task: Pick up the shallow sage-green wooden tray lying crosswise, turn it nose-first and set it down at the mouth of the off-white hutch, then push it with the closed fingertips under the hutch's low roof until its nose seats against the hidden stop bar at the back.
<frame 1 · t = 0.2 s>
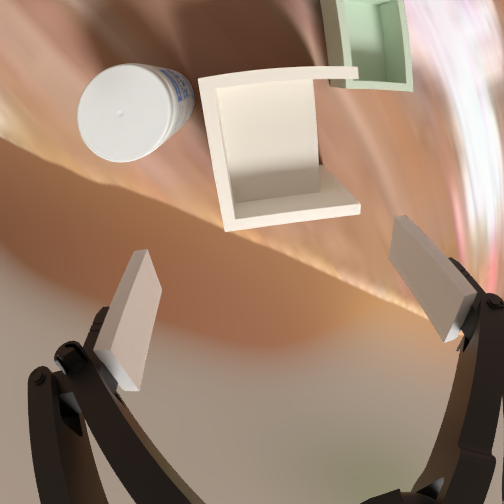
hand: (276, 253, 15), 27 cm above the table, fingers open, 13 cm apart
supplement tub: (159, 101, 34), on the table
hutch: (270, 126, 37), on the table
tray: (358, 40, 30), on the table
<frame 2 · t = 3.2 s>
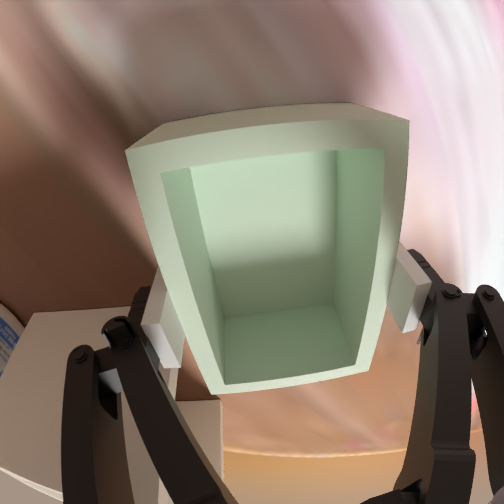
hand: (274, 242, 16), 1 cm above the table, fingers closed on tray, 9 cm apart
supplement tub: (0, 323, 21), on the table
hutch: (131, 368, 24), on the table
tray: (271, 229, 17), on the table, touching gripper
when the fingers open (3 cm above the table, at t = 7.5 s): tray drops 1 cm, on the table.
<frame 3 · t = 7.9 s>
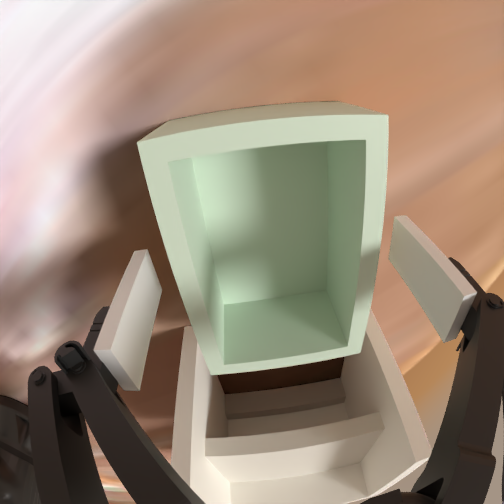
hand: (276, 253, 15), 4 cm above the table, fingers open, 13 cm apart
hutch: (281, 365, 27), on the table
tray: (267, 219, 19), on the table
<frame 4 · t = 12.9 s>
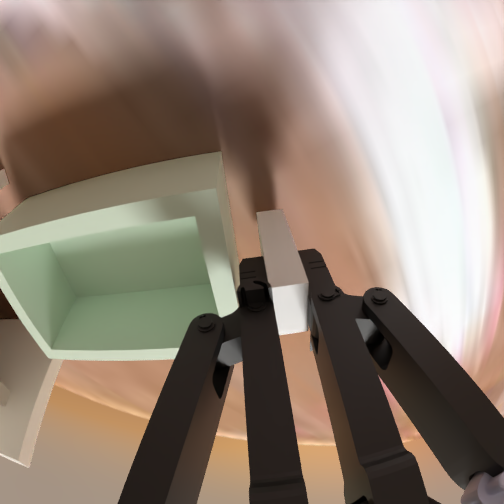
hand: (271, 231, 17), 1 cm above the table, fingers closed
tray: (128, 241, 18), on the table, touching gripper
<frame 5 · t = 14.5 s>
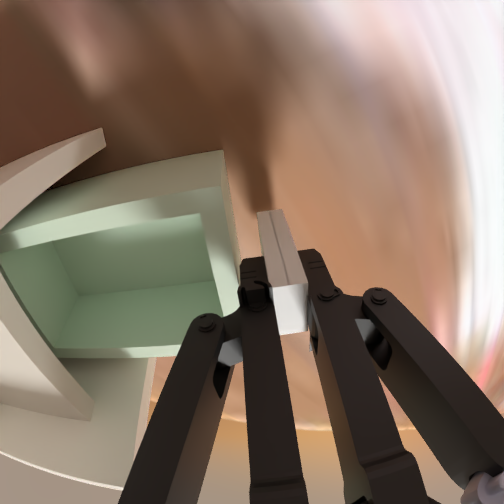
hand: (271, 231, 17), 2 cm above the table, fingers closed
hutch: (53, 251, 18), on the table
tray: (130, 239, 19), on the table, touching gripper
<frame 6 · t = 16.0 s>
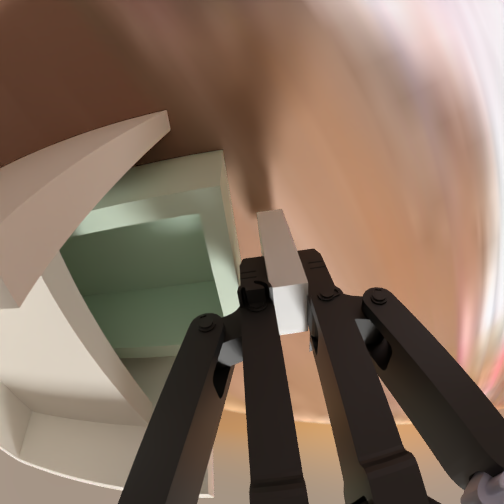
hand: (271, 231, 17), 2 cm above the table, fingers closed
hutch: (96, 243, 19), on the table
tray: (130, 239, 19), on the table, touching gripper, hutch
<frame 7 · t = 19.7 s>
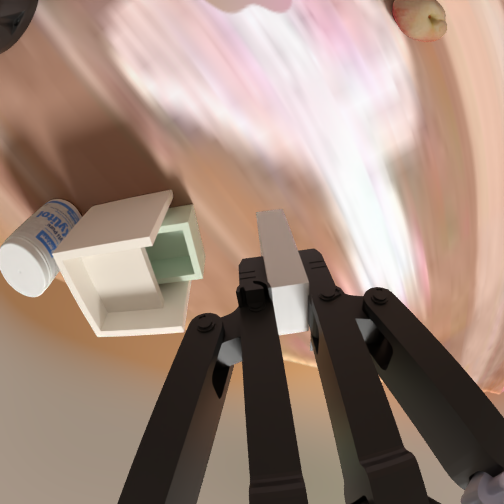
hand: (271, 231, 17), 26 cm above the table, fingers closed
fruit: (405, 19, 29), on the table
supplement tub: (63, 221, 44), on the table
hutch: (142, 239, 46), on the table
tray: (157, 237, 47), on the table
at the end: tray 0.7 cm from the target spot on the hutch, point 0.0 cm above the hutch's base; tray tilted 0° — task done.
